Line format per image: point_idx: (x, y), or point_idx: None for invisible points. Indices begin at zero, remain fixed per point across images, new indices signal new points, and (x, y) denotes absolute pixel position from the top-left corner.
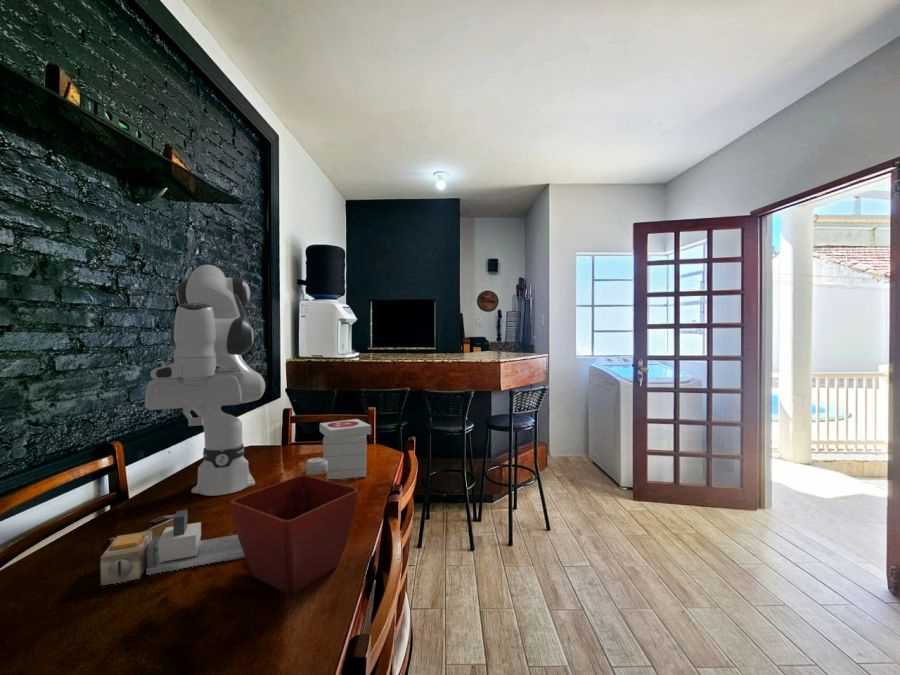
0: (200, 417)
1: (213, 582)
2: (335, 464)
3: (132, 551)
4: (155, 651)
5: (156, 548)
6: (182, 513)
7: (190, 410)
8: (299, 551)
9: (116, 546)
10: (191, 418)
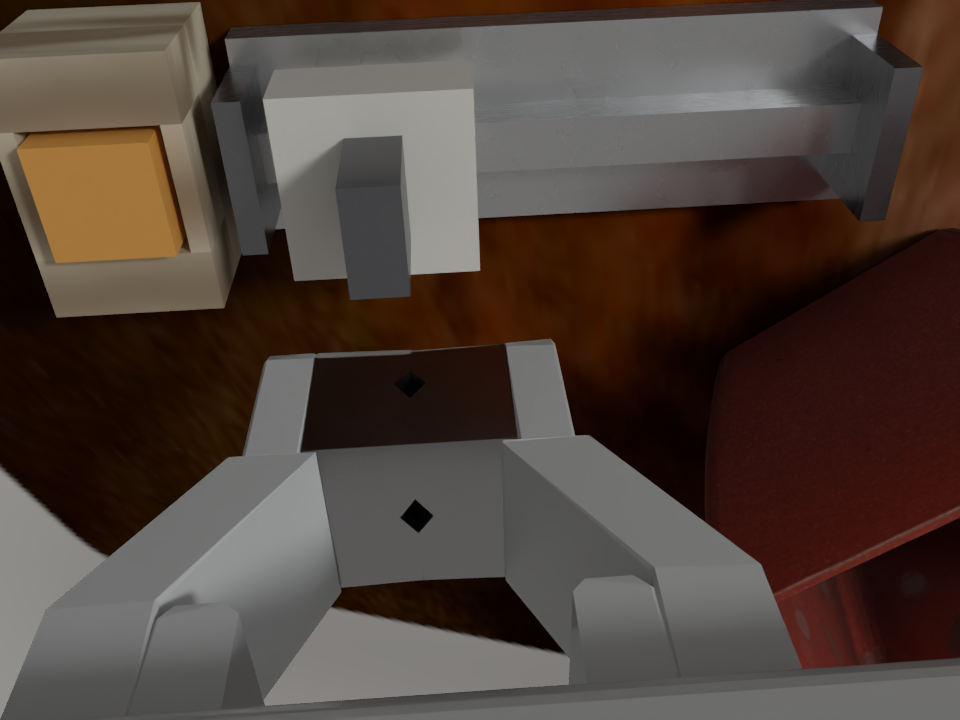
0: (539, 590)
1: (566, 348)
2: None
3: (191, 303)
4: (460, 597)
5: (262, 172)
6: (386, 246)
7: (259, 698)
8: (906, 650)
9: (79, 259)
10: (334, 574)
